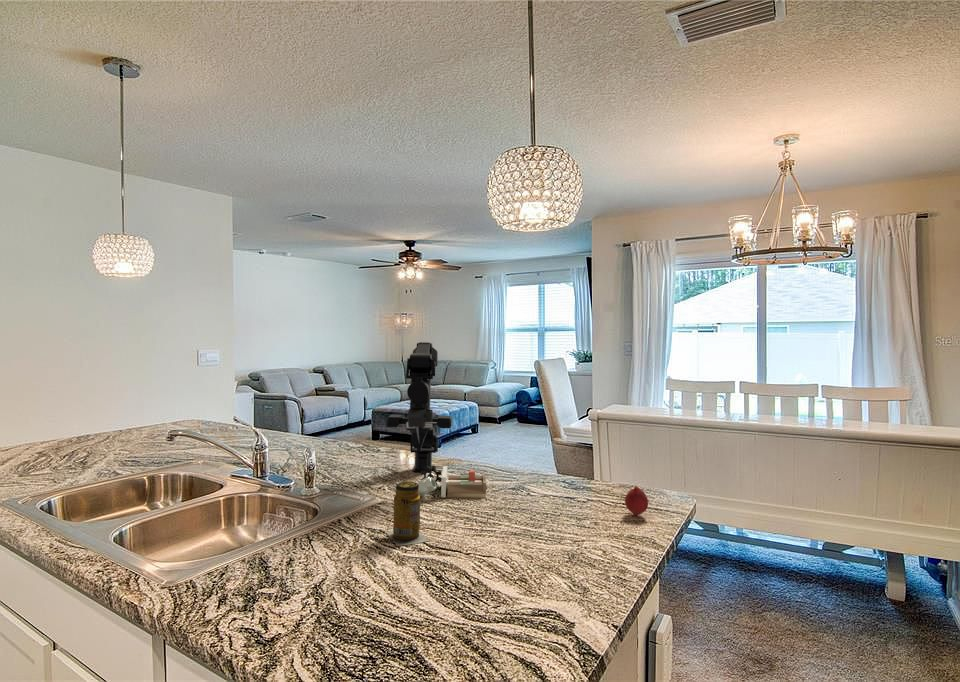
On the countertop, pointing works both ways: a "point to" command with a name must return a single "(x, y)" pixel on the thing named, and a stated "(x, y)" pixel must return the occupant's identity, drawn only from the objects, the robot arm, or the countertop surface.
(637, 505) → the onion
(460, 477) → the gauge housing
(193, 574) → the countertop surface
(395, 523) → the condiment
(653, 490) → the countertop surface
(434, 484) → the valve
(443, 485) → the white t-shaped slider
